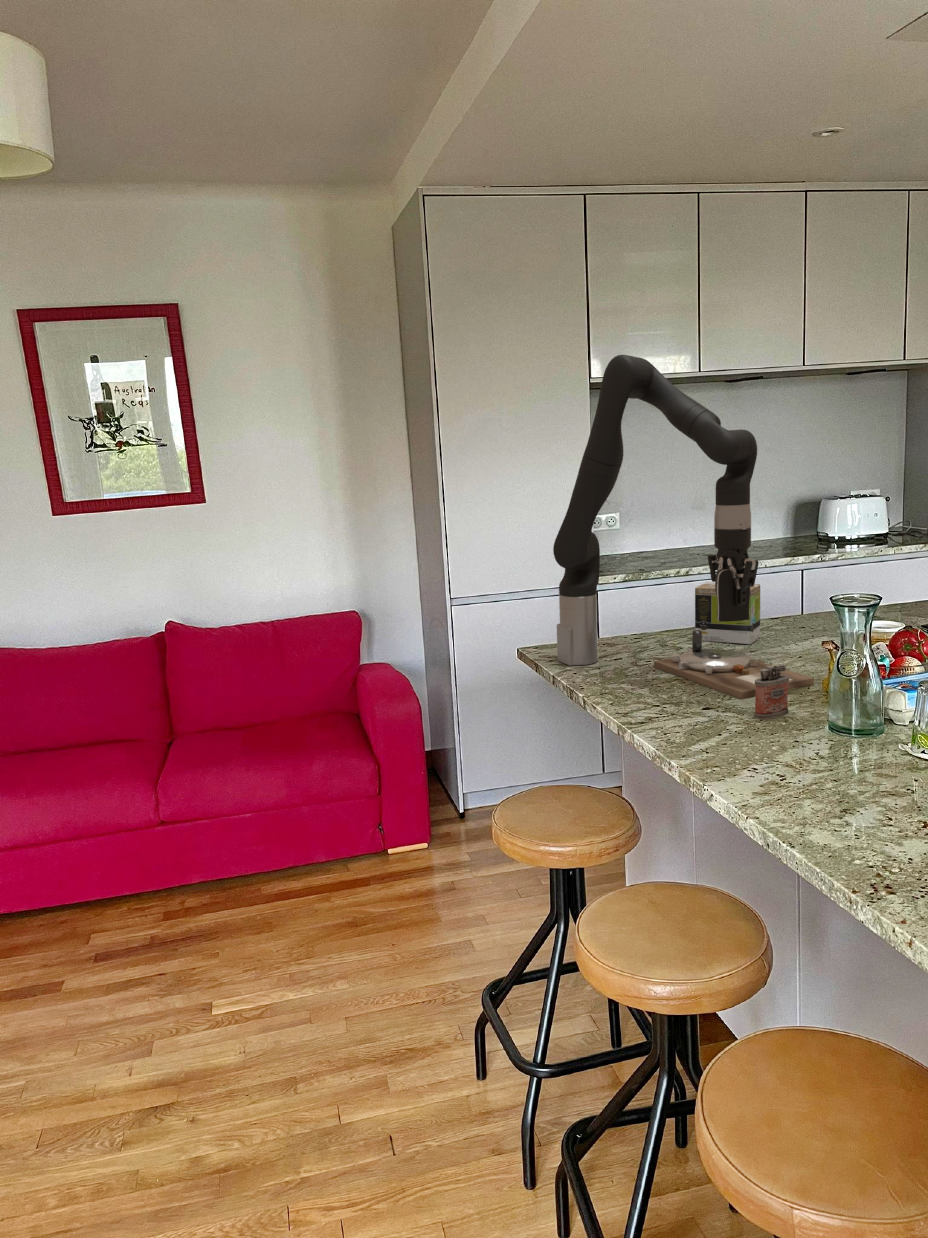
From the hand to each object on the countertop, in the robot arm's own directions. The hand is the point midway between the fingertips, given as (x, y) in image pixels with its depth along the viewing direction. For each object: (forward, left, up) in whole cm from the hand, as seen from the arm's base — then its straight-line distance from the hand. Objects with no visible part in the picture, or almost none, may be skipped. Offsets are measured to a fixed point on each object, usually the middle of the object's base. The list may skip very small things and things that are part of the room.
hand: (732, 603), depth 196 cm
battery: (0, 0, -4) cm, 4 cm away
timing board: (+6, +8, -19) cm, 21 cm away
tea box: (+29, +36, -19) cm, 50 cm away
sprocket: (+6, +13, -17) cm, 23 cm away
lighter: (-6, -19, -19) cm, 27 cm away
